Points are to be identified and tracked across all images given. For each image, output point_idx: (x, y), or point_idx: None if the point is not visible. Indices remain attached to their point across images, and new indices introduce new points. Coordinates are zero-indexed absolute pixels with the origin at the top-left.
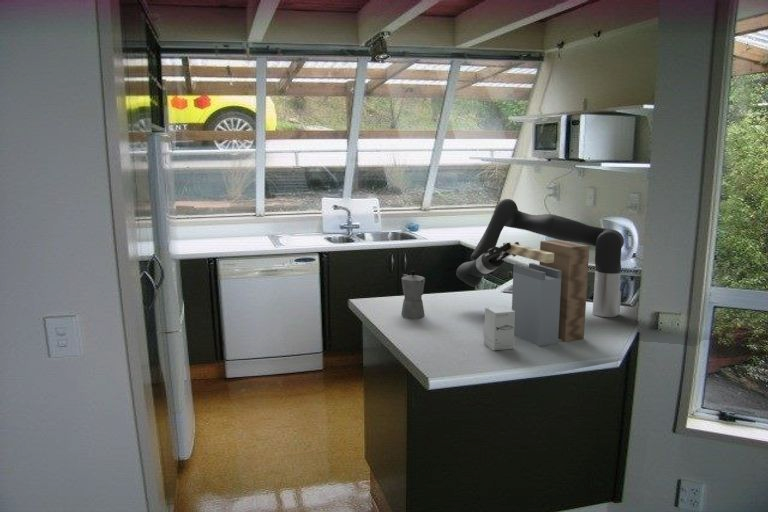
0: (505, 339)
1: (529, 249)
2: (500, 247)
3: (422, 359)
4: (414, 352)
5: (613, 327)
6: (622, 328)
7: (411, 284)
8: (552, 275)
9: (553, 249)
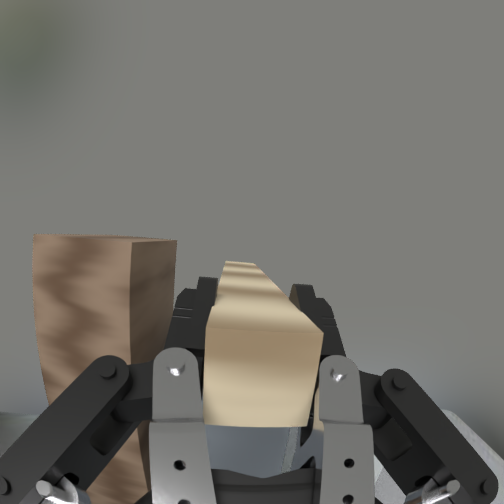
0: None
1: (260, 272)
2: (353, 376)
3: (470, 442)
4: (487, 459)
5: (10, 436)
6: (8, 425)
7: None
8: None
9: (158, 263)
